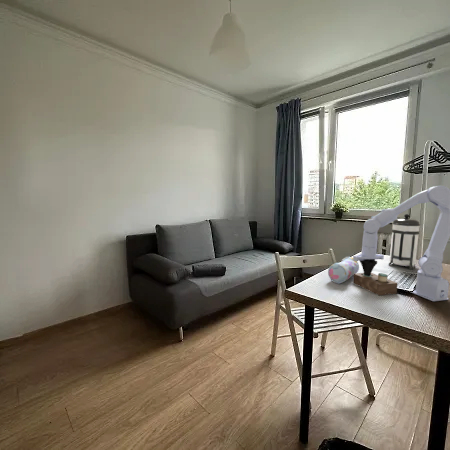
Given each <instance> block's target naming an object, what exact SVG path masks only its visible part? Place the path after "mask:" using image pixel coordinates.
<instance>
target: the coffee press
mask: <svg viewBox="0 0 450 450" xmlns="http://www.w3.org/2000/svg"><path fill="white" fill-rule="evenodd" d="M391 225H392V228H391V240H390V241H391V242H390V250H389V251H390V252H389V263H388V266H390V267H393V266H394V265H398V266H403V267H404V266H405V267H407V268H408V270H410V271H411V270H412V271H413V270H414V269H415V268H414V267H416V261H417V252H418V243H419V236H420V227H421V223H420V221H419V220H417V219H415V218H410V214H408V213H406V214H404V216H403V218H397V219H396V220H394V221H393V222H391Z"/></svg>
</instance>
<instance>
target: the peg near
mask: <svg viewBox="0 0 450 450" xmlns="http://www.w3.org/2000/svg"><path fill="white" fill-rule="evenodd" d="M377 275H378V282H380V283H387V279H388V274H387V273H384V272H383V273H382V272H379V273H378V274H377Z"/></svg>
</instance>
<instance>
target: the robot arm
mask: <svg viewBox="0 0 450 450" xmlns="http://www.w3.org/2000/svg"><path fill="white" fill-rule="evenodd" d="M428 203H431V204H434V205H435V206H436V208H437V209H438V210H439V211H440V212H439V215H438V217H437V218H438V219H437V221H436V224H435V227H434V230H433V232H432V235H431V238H430V241H429V243H428V246H427V248H426V250H425V251H424V254H423V256H421V257H420V258H419V259H418V266H419V267H420V268H419V269H418V270H417V273H416V284H415V285H416V286H415V289H414V291H413V292H410V293H412V294H414V295H417V296H419V297H422V298H424V299H426V300H429V301H430V302H431V301H432V302H439V301H447V300H449V299H450V298H449V297H448V296H449V288H450V287H449V286H450V283H449V281H448V279H446V278H443V276H442V273H443V271H444V270H443V269H444V268H443V261H444V252H445V250H446V248H447V244H448V241H449V239H450V188H449V187H448V186H446V185H434V186H431V187H429V188H427V189H426V190H422V191H420V192H417V193H416V194H414V195H413V196H411V197H409V198H408V199H406V200H405V201H402V202H401V203H400V204H398V205H397V206H395V207H393V208H391V207H390V208H389V207H388V208H383V209H381V212H379V213H377V214H376V215H372V216H371V217H370V218H369V219H367V220H365V222H364V223H363V235H362V240H361V241H362V242H361V243H362V244H361V253H360V254H358V255H353V256H352V258H353V260H354V261H357V262H358V261H359V263H360V265H361V267H362V271H363V273H364V275H366V276H370V275H371V273H373V270H374V268H375V267H376V265H377V264H378V261H377V260H382V261H383V260H384V257H385V255H384V254H381V253H380V254H377V251H378V239H379V236H378V231H379V230H380V228H384V227H385V226H387V225H390V224H392V222H393V221H394V220H396V219H398V216H399V215H400V214H403V213H404V212H406V211H408V210H410V209H411V208H413V207H415V206H417V205H419V204H428Z"/></svg>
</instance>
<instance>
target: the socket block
mask: <svg viewBox="0 0 450 450" xmlns="http://www.w3.org/2000/svg"><path fill="white" fill-rule="evenodd" d="M363 274H364V272H357V273H355V274H354V275H353V276H352V284H353V285H356V286H358V287H361V288H362V289H365V290H367V291H368V292H369V293H370V292H371V293H373V294H374V295H377V296H385V295H393V294H394V295H396V294H397V293H398V282H396V281H394V280H391V279H388V278H387V283H380V282H378V274H376V273H374V272H371V277H366V276H364V275H363Z"/></svg>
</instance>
